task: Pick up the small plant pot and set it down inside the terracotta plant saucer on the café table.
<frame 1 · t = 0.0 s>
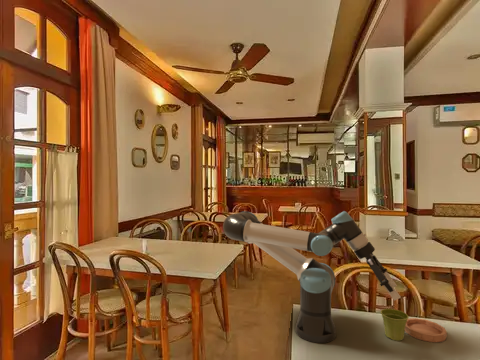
hand: (395, 292, 115), 15 cm above the table, tool tilted 35°, fingers open, 13 cm apart
terracotta plant saucer: (424, 332, 114), on the table
plant pot: (394, 337, 111), on the table
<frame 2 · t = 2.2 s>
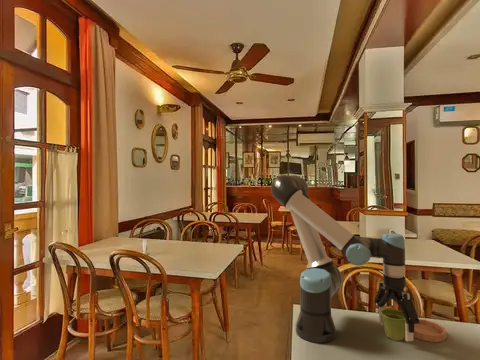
hand: (395, 331, 111), 2 cm above the table, tool pointing down, fingers open, 13 cm apart
nothing on the table moved.
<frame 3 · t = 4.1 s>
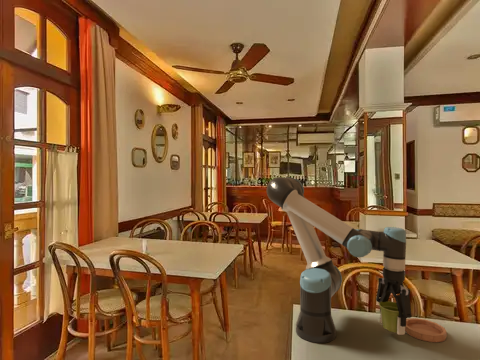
hand: (392, 327, 112), 3 cm above the table, tool pointing down, fingers closed on plant pot, 8 cm apart
plant pot: (391, 329, 112), point 3 cm above the table, touching gripper
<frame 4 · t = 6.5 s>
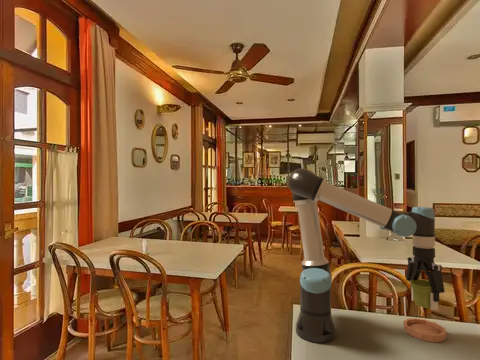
hand: (424, 304, 115), 11 cm above the table, tool pointing down, fingers closed on plant pot, 8 cm apart
plant pot: (424, 306, 115), point 10 cm above the table, touching gripper
when the fingers open (3 cm above the table, at t = 8.8 s): plant pot stays where it is, resting on terracotta plant saucer.
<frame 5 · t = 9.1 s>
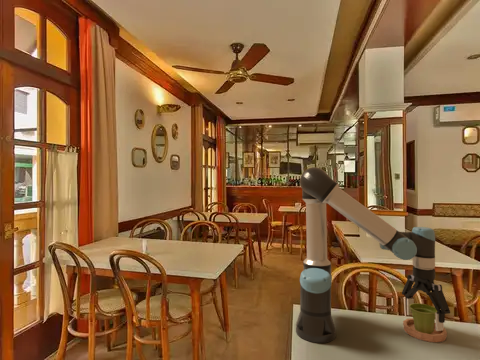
hand: (424, 322, 114), 4 cm above the table, tool pointing down, fingers open, 13 cm apart
plant pot: (424, 330, 114), point 1 cm above the table, touching terracotta plant saucer
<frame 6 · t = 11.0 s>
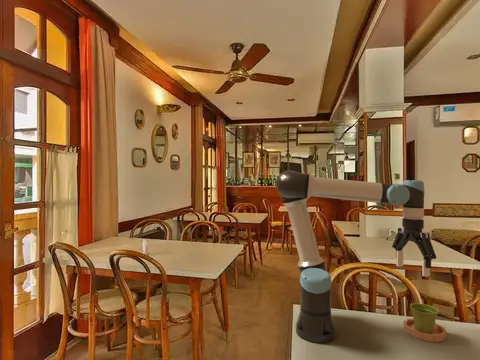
hand: (412, 270, 119), 23 cm above the table, tool pointing down, fingers open, 13 cm apart
nothing on the table moved.
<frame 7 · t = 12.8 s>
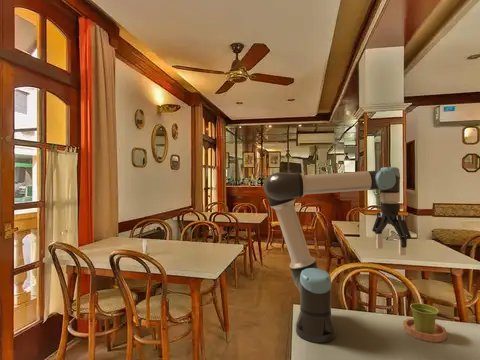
hand: (390, 251, 127), 29 cm above the table, tool pointing down, fingers open, 13 cm apart
nothing on the table moved.
at the end: plant pot 0.3 cm from the terracotta plant saucer (horizontally); plant pot point 0.8 cm above the table; plant pot tilted 0° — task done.
